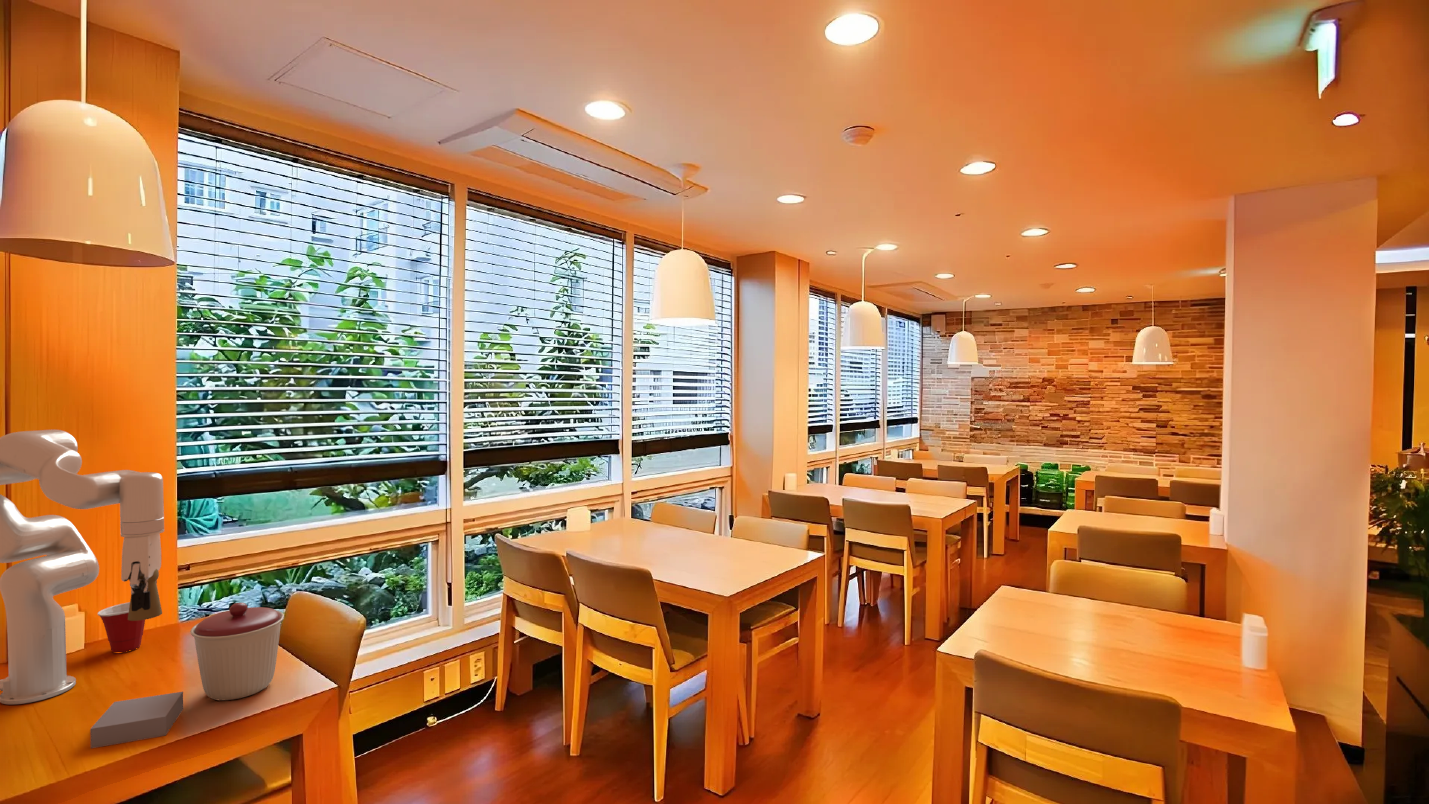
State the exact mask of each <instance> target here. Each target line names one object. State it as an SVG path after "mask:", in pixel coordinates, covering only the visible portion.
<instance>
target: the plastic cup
mask: <svg viewBox="0 0 1429 804" xmlns="http://www.w3.org/2000/svg"><path fill="white" fill-rule="evenodd" d="M129 606H130V601H129V602H125V603H119V604H115V605H113V606H108V607H106V608H104V609H101V610H99V611H98V612H97V616H98V617H99V618H100V619H101V620H102V624H103V625H104V630H105V633H106V637H107V641H108V642H109V647H110V649H111V652H112V651H113V652H126V651H129V650H134V649H136V648H138V647H139V648H140V647H141V645H142V638H143V636H144V635H143V634H144V630H145V625H146V624H145V623H146V620H139V621H130V620H128V613H129ZM139 648H138V649H139ZM136 650H137V649H136ZM134 651H135V650H134ZM113 652H112V653H113ZM126 653H127V652H126Z"/></svg>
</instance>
